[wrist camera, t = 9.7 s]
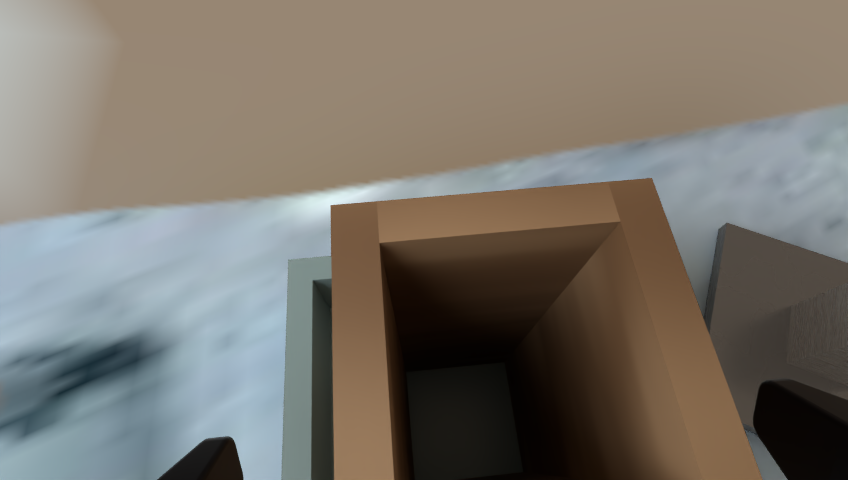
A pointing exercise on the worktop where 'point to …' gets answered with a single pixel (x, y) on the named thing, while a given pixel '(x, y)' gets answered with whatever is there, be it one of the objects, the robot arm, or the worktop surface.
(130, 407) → the worktop surface
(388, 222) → the sleeve
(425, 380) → the tray
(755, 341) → the stake base
